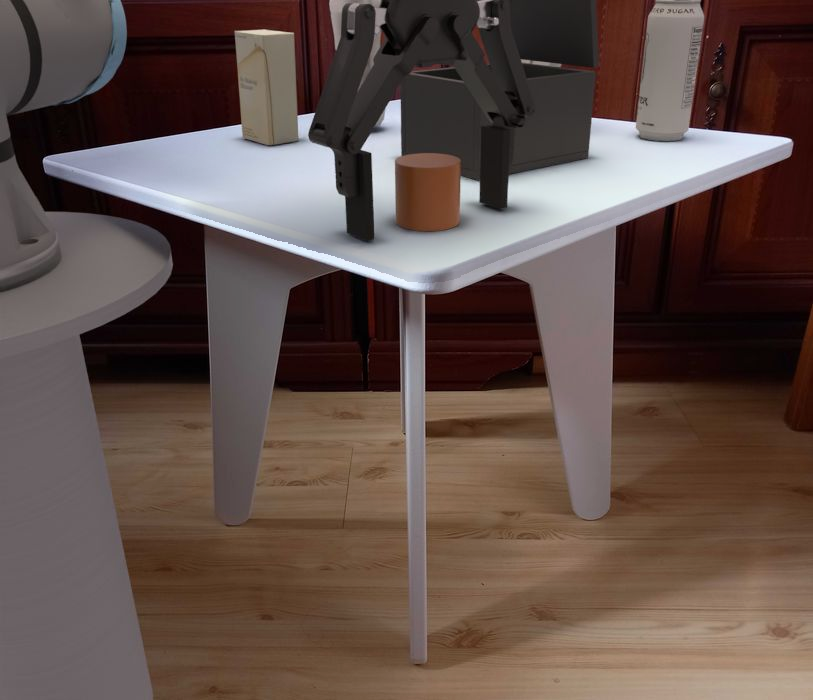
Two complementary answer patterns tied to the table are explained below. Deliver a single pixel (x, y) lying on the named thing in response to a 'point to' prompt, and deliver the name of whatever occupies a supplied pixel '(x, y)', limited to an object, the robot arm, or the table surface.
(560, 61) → the box lid
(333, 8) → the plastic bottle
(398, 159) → the orange cylinder
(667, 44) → the energy drink can
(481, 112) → the open lidded box
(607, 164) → the table surface
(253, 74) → the cosmetic box
